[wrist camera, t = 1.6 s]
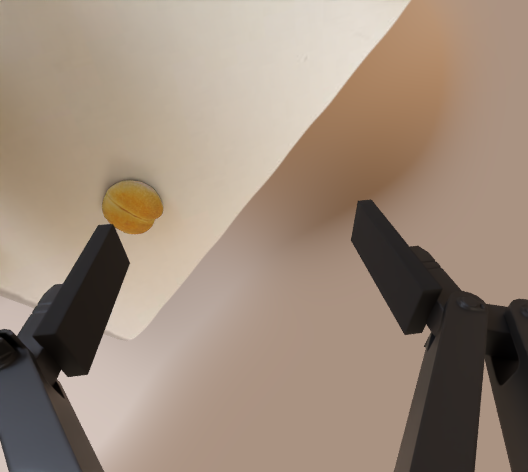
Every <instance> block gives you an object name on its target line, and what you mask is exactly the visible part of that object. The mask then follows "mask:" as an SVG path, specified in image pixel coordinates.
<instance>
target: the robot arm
mask: <svg viewBox="0 0 528 472" xmlns="http://www.w3.org/2000/svg"><path fill="white" fill-rule="evenodd" d="M351 241H352V243H353V245H354V247H355V248H356V250H357V252H358V254H359V255H360V257H361V259H362V261H363V262H364V264H365V266H366V268H367V269H368V271H369V273H370V275H371V276H372V278H373V280H374V282H375V283H376V285H377V287H378V289H379V290H380V292H381V294H382V296H383V298H384V299H385V301H386V303H387V305H388V306H389V308H390V310H391V312H392V313H393V315H394V317H395V318H396V320H397V322H398V324H399V326H400V327H401V329H402V331H403V333H404V334H405V335H408V334H416V333H422V332H423V330H424V327H425V325H426V324H427V326H428V327H429V329H430V330H431V334H430V336H429V337H428V339H427V341H426V343H425V345H424V347H426V350H425V354H424V358H423V362H422V366H421V370H420V373H419V377H418V381H417V385H416V389H415V393H414V397H413V400H412V404H411V408H410V412H409V416H408V420H407V423H406V427H405V432H404V435H403V439H402V442H401V446H400V450H399V454H398V458H397V462H396V466H395V470H394V472H474V470H475V459H476V448H477V437H478V426H479V415H480V402H481V392H482V381H483V370H484V358H485V362H486V366H487V371H488V375H489V378H490V383H491V387H492V391H493V395H494V400H495V404H496V408H497V412H498V417H499V421H500V425H501V429H502V433H503V437H504V442H505V446H506V450H507V454H508V458H509V463H510V467H511V471H512V472H528V300H526V299H516V300H513V301H512V302H511V303H510V305H509V306H508V307H504V306H497V305H490V304H486V303H485V302H484V301H483V300H482V299H480V298H479V297H478V296H476V295H474V294H472V293H468V292H464V291H461V290H460V288H459V287H458V286H457V285H456V284H455V283H454V281H453V280H452V279H451V278H450V277H449V276H448V275H447V273H446V272H445V271H444V270H443V269H442V268H441V267H440V265H439V264H438V263H437V262H435V259H434V258H433V257H432V256H431V255H430V254H429V253H428V252H427V251H425V250H424V249H422V248H421V247H419V246H413V247H412V246H411V247H409V246H408V244H407V243H406V242H405V241H404V239H403V238H402V237H401V236H400V234H399V233H398V232H397V231H396V230H395V228H394V227H393V226H392V225H391V223H390V222H389V221H388V220H387V218H386V217H385V216H384V215H383V213H382V212H381V211H380V210H379V208H378V207H377V206H376V205H375V204H374V202H373V201H372V200H362V201H358V203H357V209H356V215H355V220H354V227H353V232H352V237H351ZM129 264H130V262H129V260H128V257H127V255H126V253H125V250H124V248H123V246H122V243H121V241H120V239H119V236H118V234H117V232H116V229H115V227H114V225H113V224H106V225H98V226H97V228H96V230H95V231H94V233H93V235H92V236H91V238H90V240H89V241H88V243H87V245H86V246H85V248H84V250H83V251H82V253H81V255H80V256H79V258H78V260H77V261H76V263H75V265H74V266H73V268H72V270H71V271H70V273H69V275H68V276H67V278H66V280H65V281H64V283H63V284H57V285H54V286H53V287H51V288H50V289H49V290H48V291H47V292H46V293H45V294H44V295H43V296H42V298H41V299H40V301H39V303H38V306H36V307H35V309H34V310H33V312H32V313H33V314H31V315H30V317H29V318H28V320H27V321H26V323H25V324H24V326H23V327H22V329H21V331H20V332H19V334H18V335H17V336H16V335H15V334H14V333H13V332H12V331H11V330H7V329H2V330H0V441H1V445H2V449H3V452H4V456H5V459H6V463H7V467H8V470H9V472H104V470H103V469H102V466H101V465H100V462H99V461H98V459H97V457H96V454H95V452H94V450H93V448H92V446H91V444H90V442H89V440H88V438H87V436H86V434H85V432H84V430H83V428H82V426H81V424H80V422H79V420H78V418H77V416H76V414H75V412H74V410H73V408H72V406H71V404H70V402H69V400H68V398H67V396H66V393H65V391H64V389H63V388H62V385H61V384H60V382H59V381H58V380H57V377H58V375H59V373H60V371H61V370H62V371H63V372H64V373H65V374H66V375H67V377H73V376H81V375H87V374H88V372H89V370H90V367H91V365H92V362H93V359H94V357H95V354H96V351H97V349H98V346H99V344H100V341H101V338H102V336H103V333H104V330H105V328H106V325H107V322H108V320H109V317H110V314H111V312H112V309H113V307H114V304H115V301H116V299H117V296H118V293H119V291H120V288H121V285H122V283H123V280H124V277H125V275H126V272H127V270H128V267H129Z"/></svg>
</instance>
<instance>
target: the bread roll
mask: <svg viewBox="0 0 528 472" xmlns="http://www.w3.org/2000/svg"><path fill="white" fill-rule="evenodd" d="M102 211H103V214H104V217H105V218H106V219H107V221H108V222H109V223H110V224H113V225H114V227H115V228H117V229H119V230H121V231H123V232H124V233H128V234H141V233H144V232H146V231H147V230H149V229H150V228H151V227H152V225H153V223H154V220H155V219H156V218H158V217H160V216H161V215H162V213H163V205H162V202H161V200H160V197H159V196H158V194H157V193H156V191H155V190H154V189H153V188H152V187H150V186H149V185H147V184H145V183H142V182H139V181H132V180H127V181H121V182H119V183H117V184H115V185H113V186H112V187H110V188H109V189H108V191H107V193H106V195H105V197H104V199H103V203H102Z"/></svg>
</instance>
